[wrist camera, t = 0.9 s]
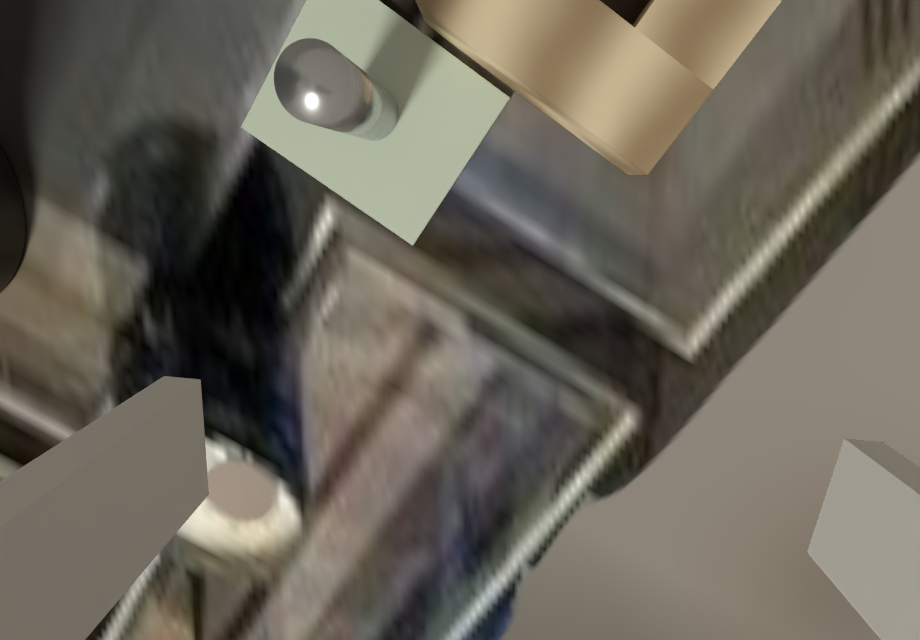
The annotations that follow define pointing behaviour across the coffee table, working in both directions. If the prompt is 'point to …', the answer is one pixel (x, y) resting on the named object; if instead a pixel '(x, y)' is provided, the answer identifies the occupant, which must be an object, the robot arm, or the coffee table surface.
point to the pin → (332, 91)
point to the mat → (419, 121)
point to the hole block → (606, 62)
